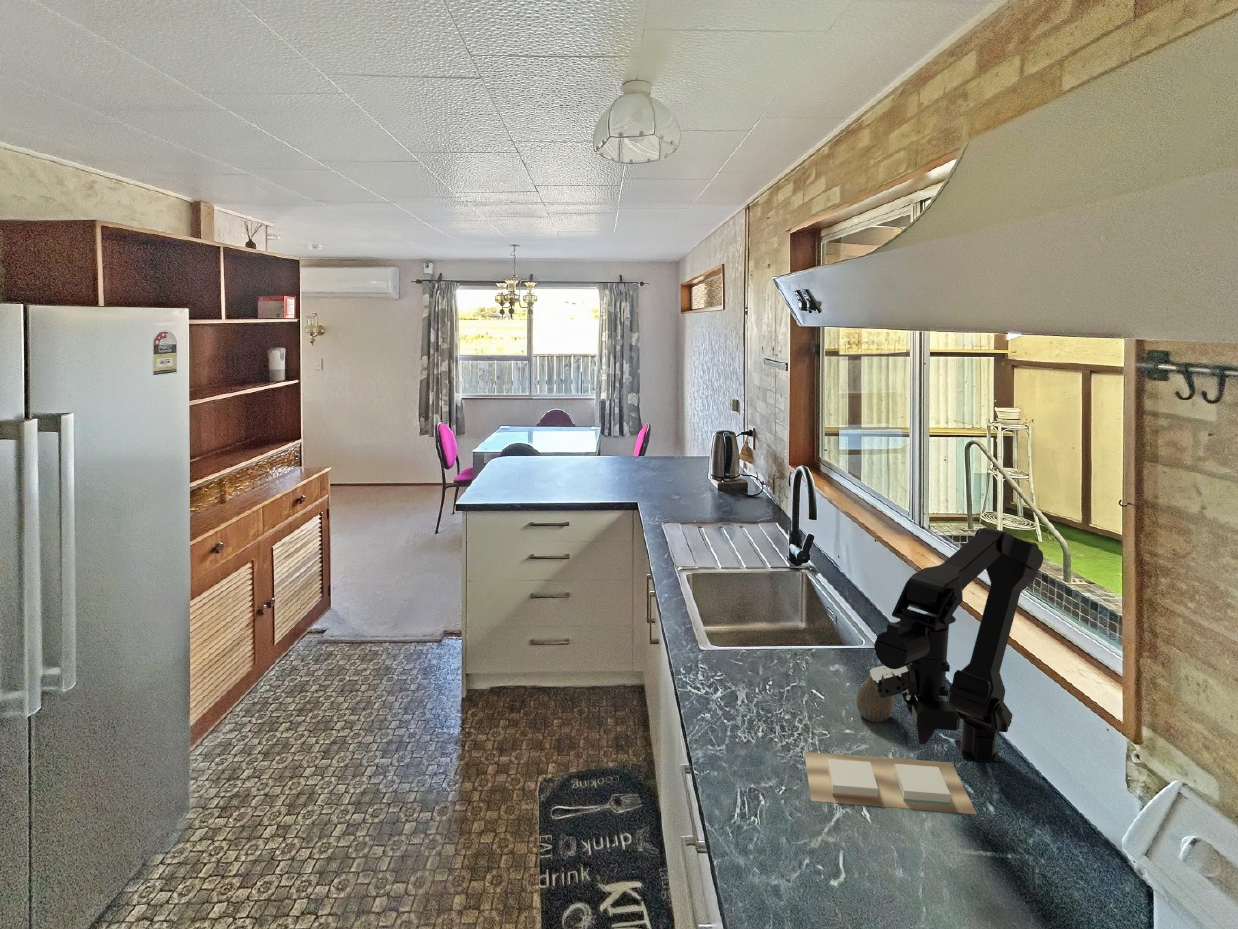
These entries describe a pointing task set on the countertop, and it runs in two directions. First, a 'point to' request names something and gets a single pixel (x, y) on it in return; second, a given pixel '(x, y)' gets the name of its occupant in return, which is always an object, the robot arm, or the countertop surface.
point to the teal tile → (921, 784)
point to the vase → (873, 703)
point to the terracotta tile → (852, 778)
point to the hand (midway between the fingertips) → (921, 743)
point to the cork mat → (885, 783)
